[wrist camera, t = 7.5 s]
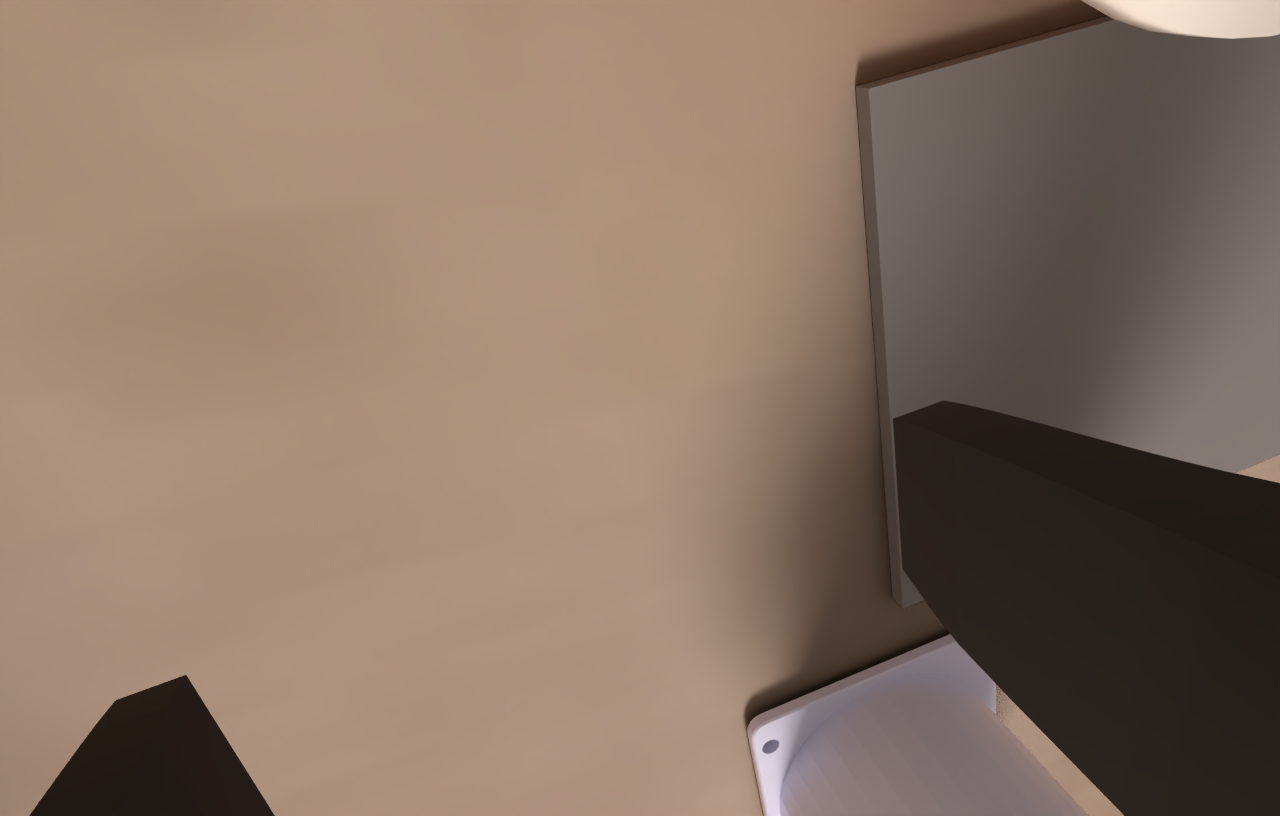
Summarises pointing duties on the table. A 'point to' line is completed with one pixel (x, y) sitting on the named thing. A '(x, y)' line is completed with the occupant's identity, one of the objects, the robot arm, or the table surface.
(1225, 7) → the lid
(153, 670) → the table surface
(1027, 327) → the mat
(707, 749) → the table surface
